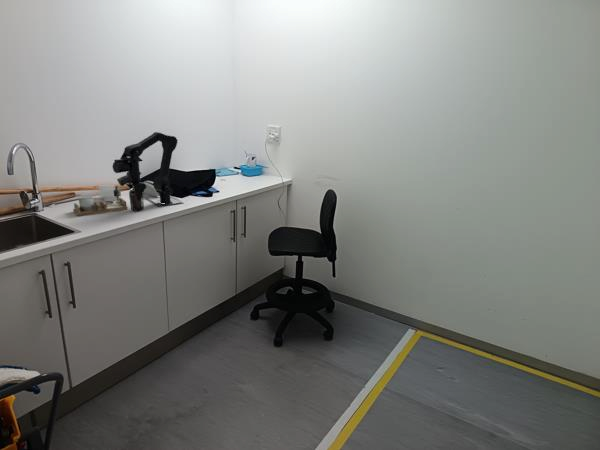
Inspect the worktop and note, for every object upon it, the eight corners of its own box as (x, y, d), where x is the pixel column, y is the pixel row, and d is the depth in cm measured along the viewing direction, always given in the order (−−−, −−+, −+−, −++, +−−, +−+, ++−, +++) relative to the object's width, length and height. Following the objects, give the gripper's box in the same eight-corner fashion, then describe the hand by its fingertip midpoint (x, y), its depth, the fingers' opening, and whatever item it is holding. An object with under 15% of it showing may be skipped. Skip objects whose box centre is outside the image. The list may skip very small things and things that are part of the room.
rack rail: (127, 209, 223) (126, 196, 220) (77, 216, 208) (75, 202, 205) (122, 205, 230) (121, 192, 228) (73, 211, 215) (71, 198, 213)
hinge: (165, 196, 251) (159, 182, 246) (159, 200, 249) (153, 186, 243) (150, 191, 261) (144, 178, 255) (144, 195, 258) (138, 181, 253)
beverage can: (131, 212, 218) (128, 190, 214) (130, 208, 224) (128, 187, 220) (144, 211, 220) (142, 190, 217) (143, 208, 226) (141, 187, 222)
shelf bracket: (114, 208, 225) (111, 185, 223) (99, 206, 243) (96, 186, 241) (124, 207, 229) (121, 184, 227) (109, 205, 247) (106, 185, 245)
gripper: (112, 168, 217) (116, 196, 222) (123, 175, 203) (126, 204, 208) (134, 166, 224) (136, 194, 229) (145, 173, 210) (148, 201, 215)
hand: (136, 198), depth 220 cm, fingers open, 8 cm apart
